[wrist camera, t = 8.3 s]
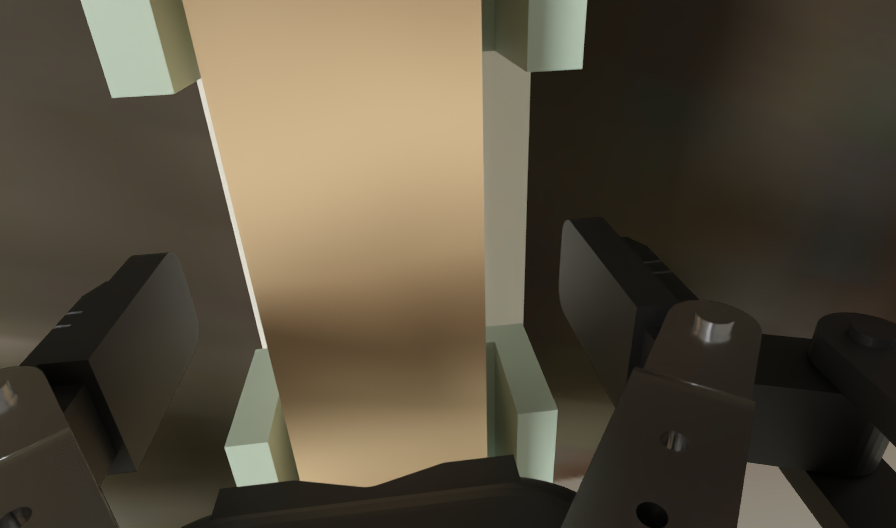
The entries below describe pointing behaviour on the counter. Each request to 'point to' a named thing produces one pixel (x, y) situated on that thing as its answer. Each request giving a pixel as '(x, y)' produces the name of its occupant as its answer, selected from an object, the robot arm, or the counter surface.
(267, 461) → the bracket stand
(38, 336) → the counter surface
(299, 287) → the tan rectangular bar
